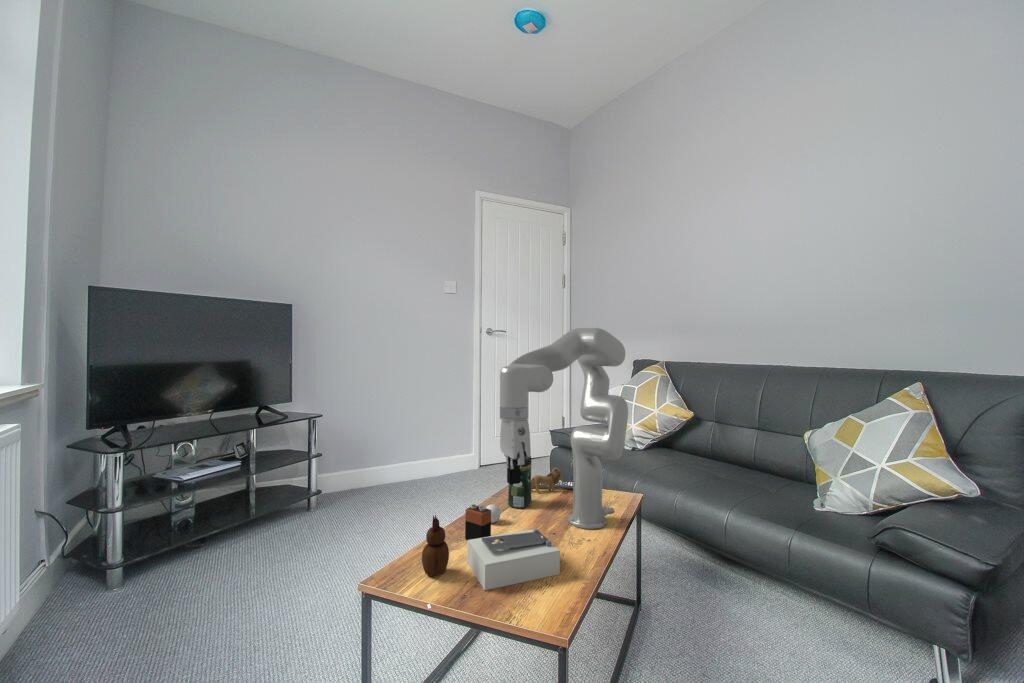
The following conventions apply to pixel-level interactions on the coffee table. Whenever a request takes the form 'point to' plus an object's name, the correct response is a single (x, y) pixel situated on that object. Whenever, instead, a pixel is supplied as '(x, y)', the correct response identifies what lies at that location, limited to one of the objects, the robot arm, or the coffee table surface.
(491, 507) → the seamed sphere
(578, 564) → the coffee table surface
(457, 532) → the coffee table surface
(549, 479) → the lion figurine
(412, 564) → the coffee table surface
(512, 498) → the coffee jar
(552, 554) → the keepsake box
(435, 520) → the wooden figurine
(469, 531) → the battery
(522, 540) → the clasp strap
